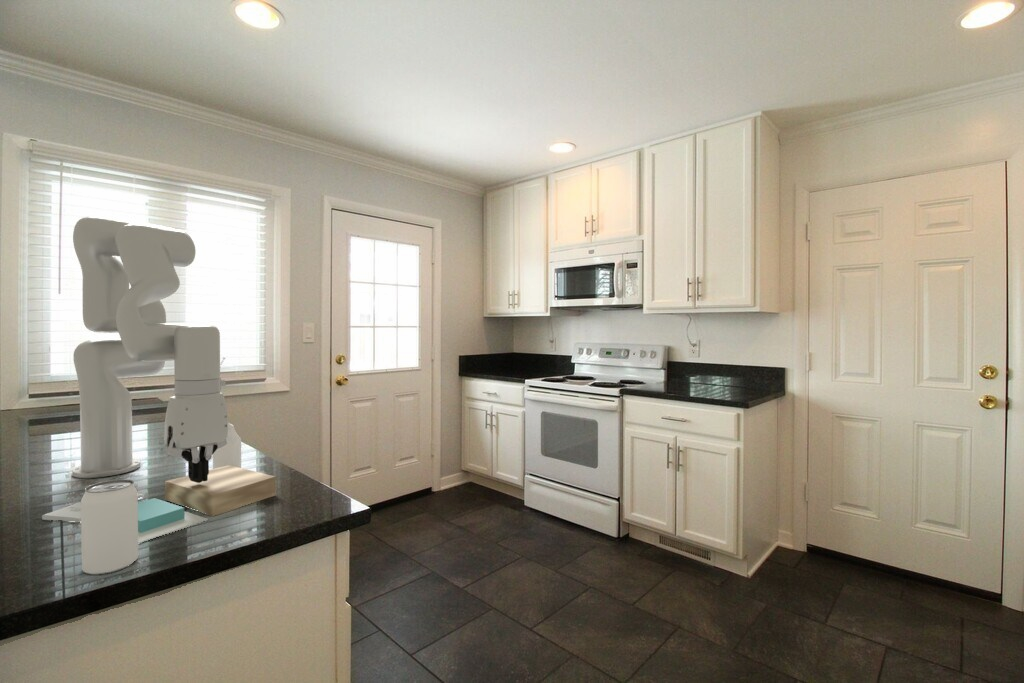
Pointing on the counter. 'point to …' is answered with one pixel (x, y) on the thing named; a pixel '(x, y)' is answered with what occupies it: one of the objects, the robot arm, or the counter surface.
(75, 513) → the external hard drive
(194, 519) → the mat
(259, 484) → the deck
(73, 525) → the counter surface
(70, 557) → the counter surface
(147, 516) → the teal sticky note pad
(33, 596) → the counter surface
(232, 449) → the white tall lump
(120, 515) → the can
